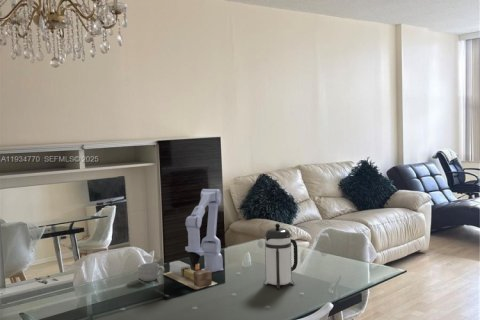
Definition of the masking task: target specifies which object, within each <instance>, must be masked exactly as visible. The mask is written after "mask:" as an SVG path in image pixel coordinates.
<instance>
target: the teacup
mask: <svg viewBox="0 0 480 320" xmlns="http://www.w3.org/2000/svg"><path fill="white" fill-rule="evenodd" d="M137 268H138V269H137V270H138V271H137V272H138V273H137V274H138V277H139V279H140V280H141V281H142V282H143V281H144V282H153V281H156V279H158V278H160V277H161V275H164V274H163V273H165V267H164V266H162V265H160V264H159V263H157V262H148V263H147V262H145V263H142V264H141V263H140V264H139V265H137ZM160 269H161V270H162V271H161V272H160Z"/></svg>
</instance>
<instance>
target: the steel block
mask: <svg viewBox="0 0 480 320" xmlns="http://www.w3.org/2000/svg"><path fill="white" fill-rule="evenodd" d="M185 268H189V269H191V270H192V268H191V265H190V264H189V263H186V262H183V261H181V260H174V261H171V262H169V272H170V273H171V274H173V275H176V276H178V277H180V278H184V277H186V276H184V275H183V269H185Z"/></svg>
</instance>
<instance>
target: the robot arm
mask: <svg viewBox="0 0 480 320" xmlns="http://www.w3.org/2000/svg"><path fill="white" fill-rule="evenodd" d="M221 203H222V192H221V190H220V188H202V189H201V191H200V200H199V203H198V205H196V206H195V207H194V209H193V210H192V212H191V214H190V215H189V216H187V217H186V219H185V223H184V224H185V227H186V231H187V239H188V241H187V242H188V244H187V246H184V247H185V248H184V249H185V251H186V252H187V256H188V257H189V259H190V262H191V265H192V268H195V264H197V263H198V264H199V261H200V258H201V257H202V256H203V257H204V258H203V259H204V268H201V270H204V269H207V270H209V271H211V273H214V272H218V271H224V267H223V266H224V265H223V264H224V263H223V262H224V261H223V260H224V259H223V255H222V254H221V251H222V248H221V247H222V245H221V240H220V238H218V237H217V236H216V235H217V227H218V225H217V223H218V209H219V206H221ZM207 206H208V212H207V213H208V215H207V227H206V236H205V237H203V238H202V240H201V237H200V235H201V233H200V232H201V231H200V228H201V226H202V221H203V217H204V215H205V214H206V207H207Z"/></svg>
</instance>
